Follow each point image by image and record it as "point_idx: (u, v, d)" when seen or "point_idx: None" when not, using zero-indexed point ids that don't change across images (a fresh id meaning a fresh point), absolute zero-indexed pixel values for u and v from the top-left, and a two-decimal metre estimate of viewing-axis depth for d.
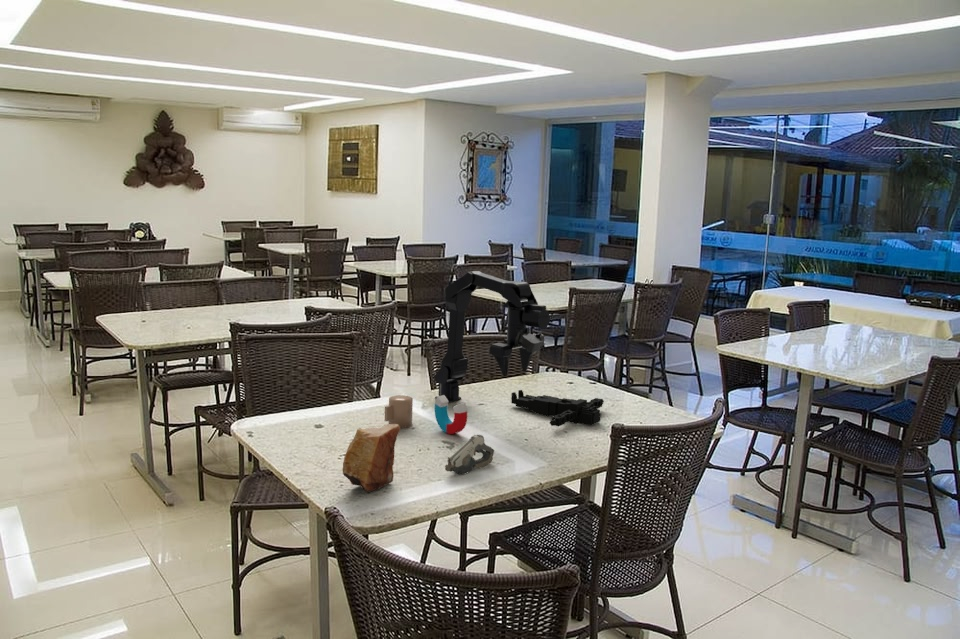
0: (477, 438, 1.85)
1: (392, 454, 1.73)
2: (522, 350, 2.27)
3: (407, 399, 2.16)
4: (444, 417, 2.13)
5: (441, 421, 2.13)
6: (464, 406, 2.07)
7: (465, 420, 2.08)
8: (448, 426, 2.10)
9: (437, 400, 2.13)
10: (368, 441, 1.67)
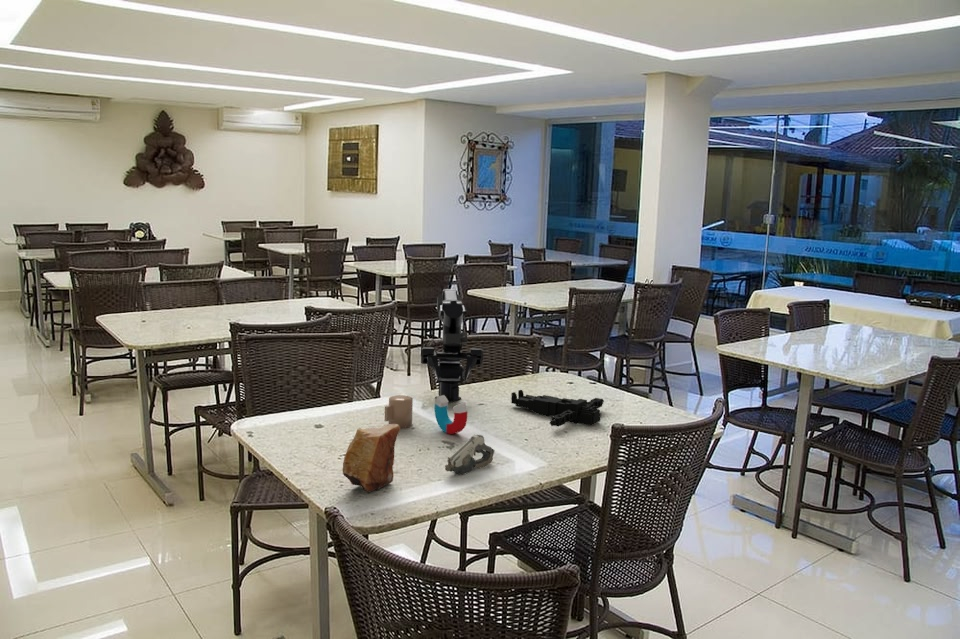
0: (477, 438, 1.85)
1: (392, 454, 1.73)
2: None
3: (407, 399, 2.16)
4: (444, 417, 2.13)
5: (441, 421, 2.13)
6: (464, 406, 2.07)
7: (465, 420, 2.08)
8: (448, 426, 2.10)
9: (437, 400, 2.13)
10: (368, 441, 1.67)
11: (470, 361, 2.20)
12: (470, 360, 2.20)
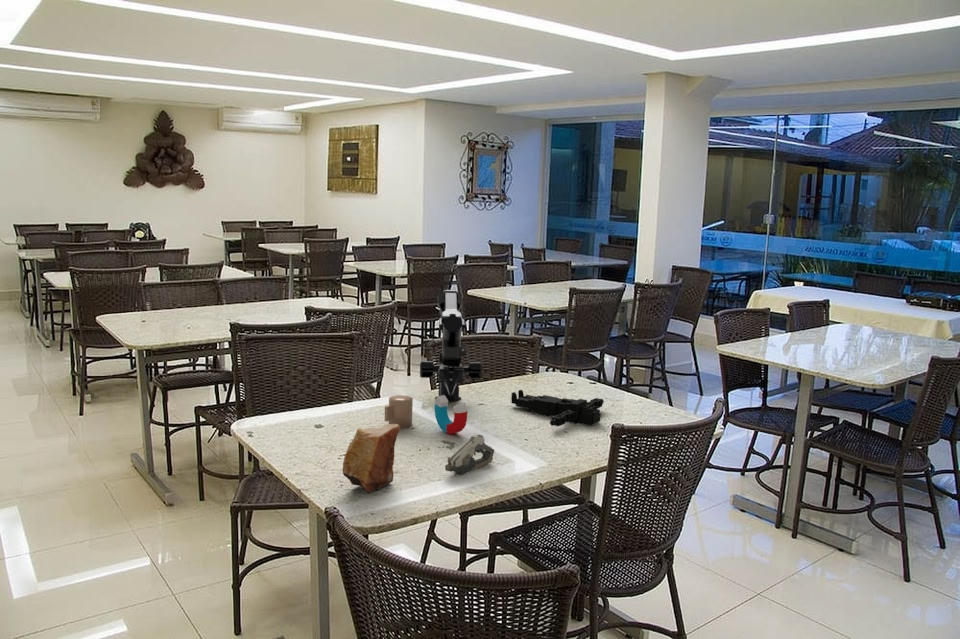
0: (477, 438, 1.85)
1: (392, 454, 1.73)
2: None
3: (407, 399, 2.16)
4: (444, 417, 2.13)
5: (441, 421, 2.13)
6: (464, 406, 2.07)
7: (465, 420, 2.08)
8: (448, 426, 2.10)
9: (437, 400, 2.13)
10: (368, 441, 1.67)
11: (456, 374, 2.18)
12: (456, 373, 2.18)
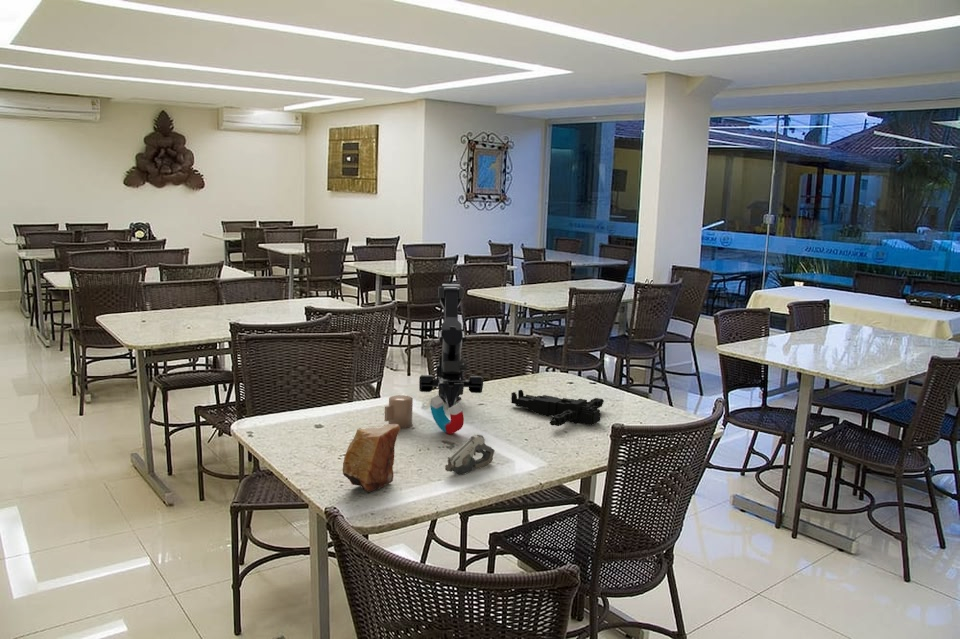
0: (477, 438, 1.85)
1: (392, 454, 1.73)
2: None
3: (407, 399, 2.16)
4: (442, 417, 2.13)
5: (439, 422, 2.12)
6: (458, 406, 2.06)
7: (462, 420, 2.07)
8: (447, 426, 2.10)
9: (432, 402, 2.12)
10: (368, 441, 1.67)
11: (457, 389, 2.13)
12: (457, 388, 2.13)
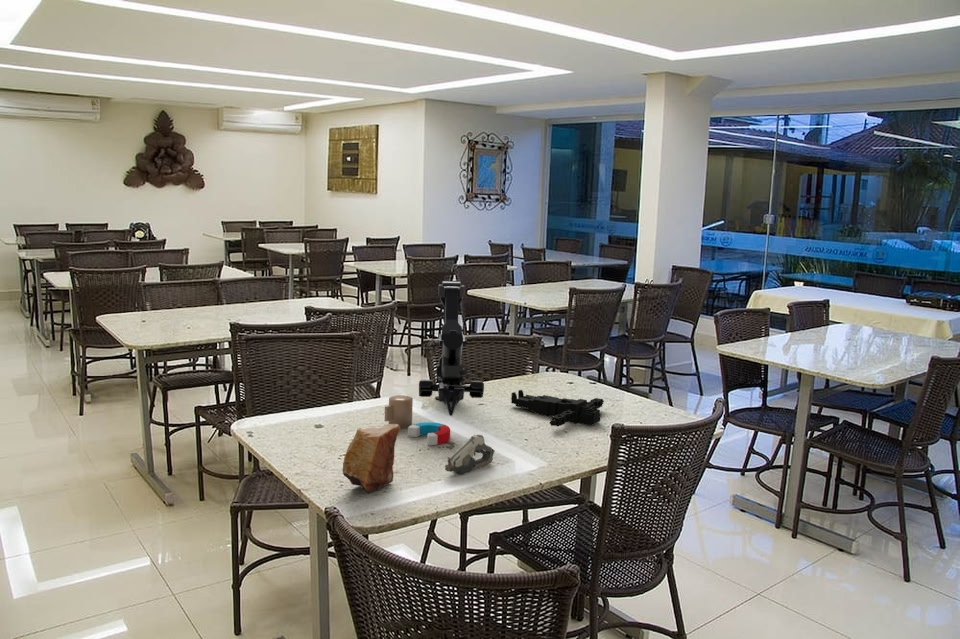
0: (477, 438, 1.85)
1: (392, 454, 1.73)
2: None
3: (407, 399, 2.16)
4: (429, 430, 2.10)
5: None
6: (431, 439, 2.01)
7: (444, 435, 2.03)
8: None
9: None
10: (368, 441, 1.67)
11: (457, 394, 2.09)
12: (457, 393, 2.09)
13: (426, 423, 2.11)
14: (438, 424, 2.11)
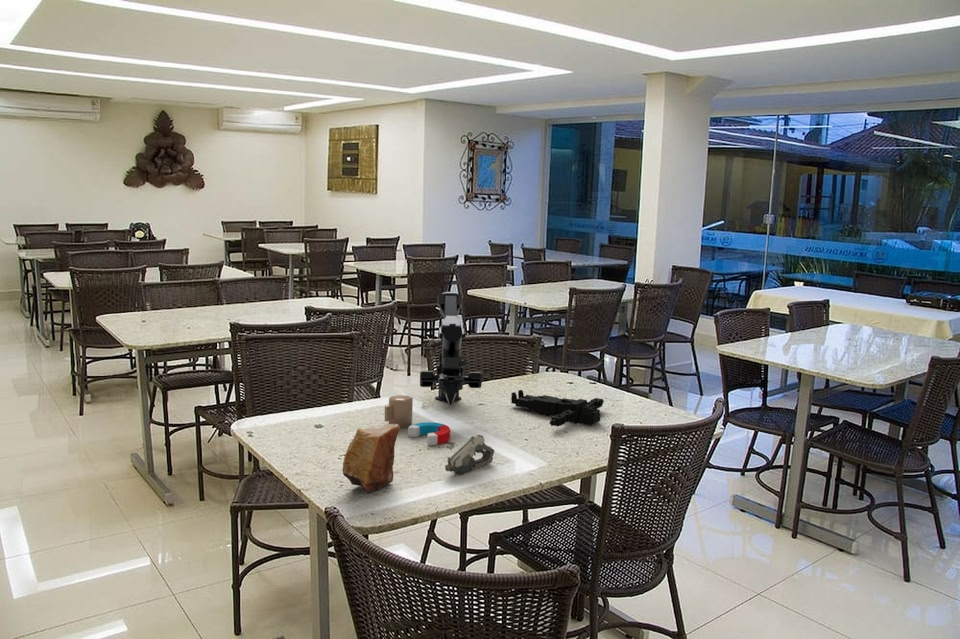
0: (477, 438, 1.85)
1: (392, 454, 1.73)
2: None
3: (407, 399, 2.16)
4: (429, 430, 2.10)
5: None
6: (431, 439, 2.01)
7: (444, 435, 2.03)
8: None
9: None
10: (368, 441, 1.67)
11: (456, 384, 2.19)
12: (456, 383, 2.19)
13: (426, 423, 2.11)
14: (438, 424, 2.11)
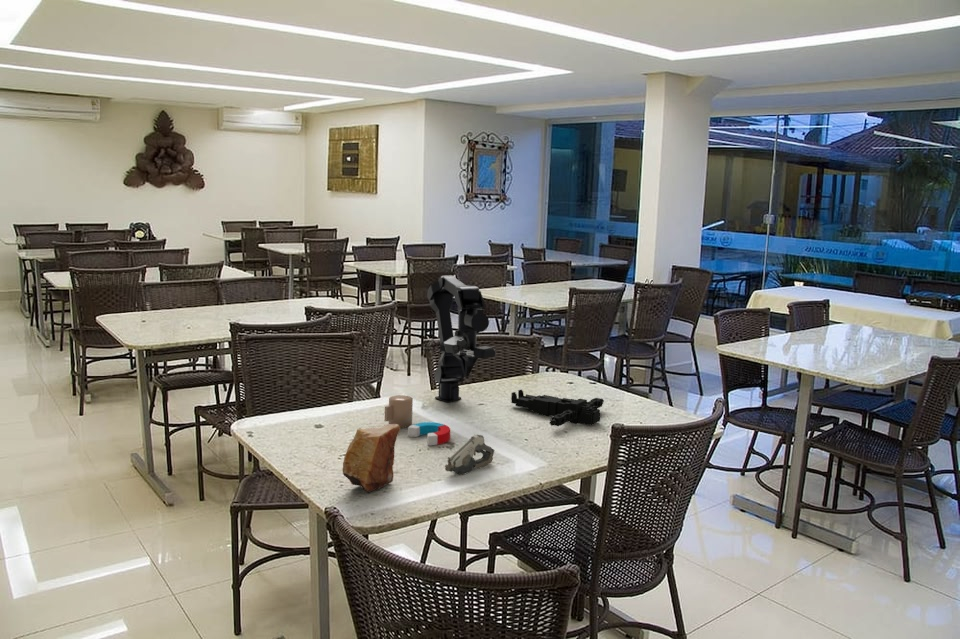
0: (477, 438, 1.85)
1: (392, 454, 1.73)
2: None
3: (407, 399, 2.16)
4: (429, 430, 2.10)
5: None
6: (431, 439, 2.01)
7: (444, 435, 2.03)
8: None
9: None
10: (368, 441, 1.67)
11: (466, 360, 2.25)
12: (466, 359, 2.25)
13: (426, 423, 2.11)
14: (438, 424, 2.11)
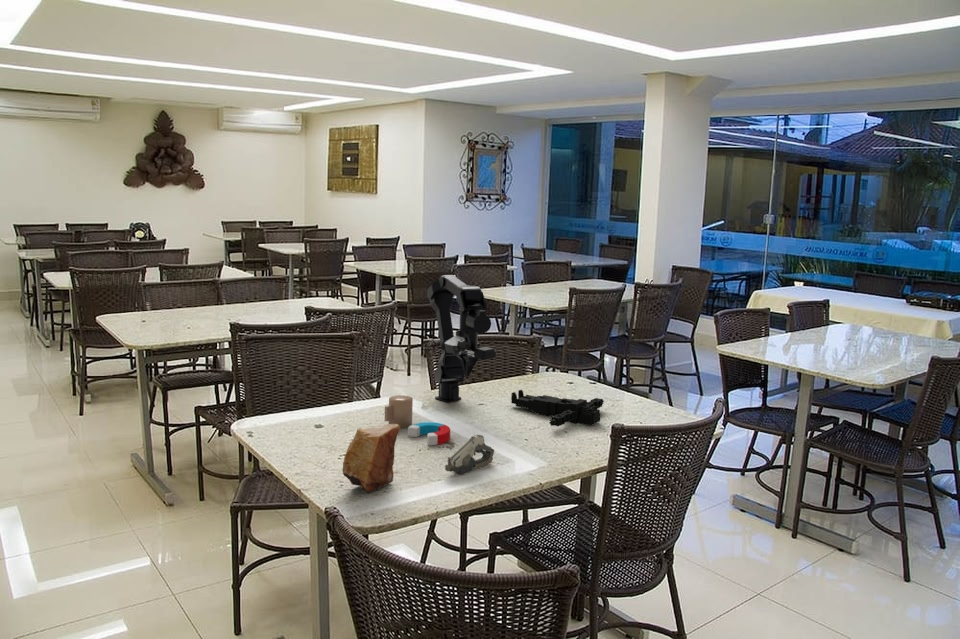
0: (477, 438, 1.85)
1: (392, 454, 1.73)
2: None
3: (407, 399, 2.16)
4: (429, 430, 2.10)
5: None
6: (431, 439, 2.01)
7: (444, 435, 2.03)
8: None
9: None
10: (368, 441, 1.67)
11: (467, 360, 2.26)
12: (467, 359, 2.25)
13: (426, 423, 2.11)
14: (438, 424, 2.11)
